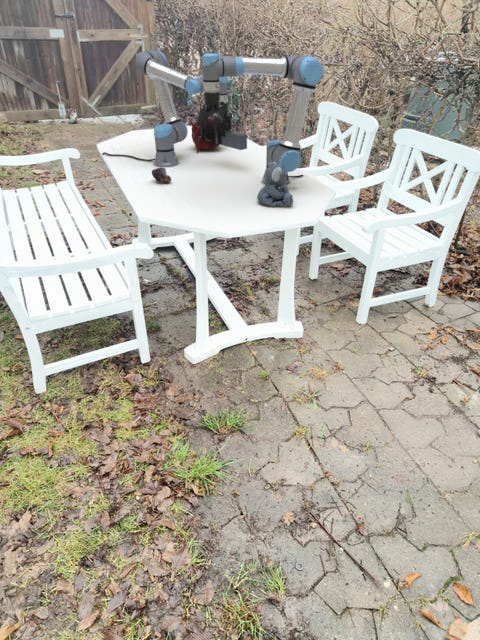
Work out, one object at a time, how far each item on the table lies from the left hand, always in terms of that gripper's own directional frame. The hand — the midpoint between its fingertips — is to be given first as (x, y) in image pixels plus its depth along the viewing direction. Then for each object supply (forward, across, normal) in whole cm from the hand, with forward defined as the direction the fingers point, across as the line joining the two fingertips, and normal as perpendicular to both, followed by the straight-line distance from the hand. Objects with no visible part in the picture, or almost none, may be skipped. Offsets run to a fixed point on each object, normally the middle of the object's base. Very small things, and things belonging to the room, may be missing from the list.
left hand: (223, 142), depth 283 cm
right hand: (-16, -43, -44) cm, 63 cm away
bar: (+1, 0, -8) cm, 8 cm away
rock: (+14, -50, -2) cm, 51 cm away
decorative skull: (+14, +19, +40) cm, 46 cm away
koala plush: (+14, -26, -71) cm, 77 cm away
